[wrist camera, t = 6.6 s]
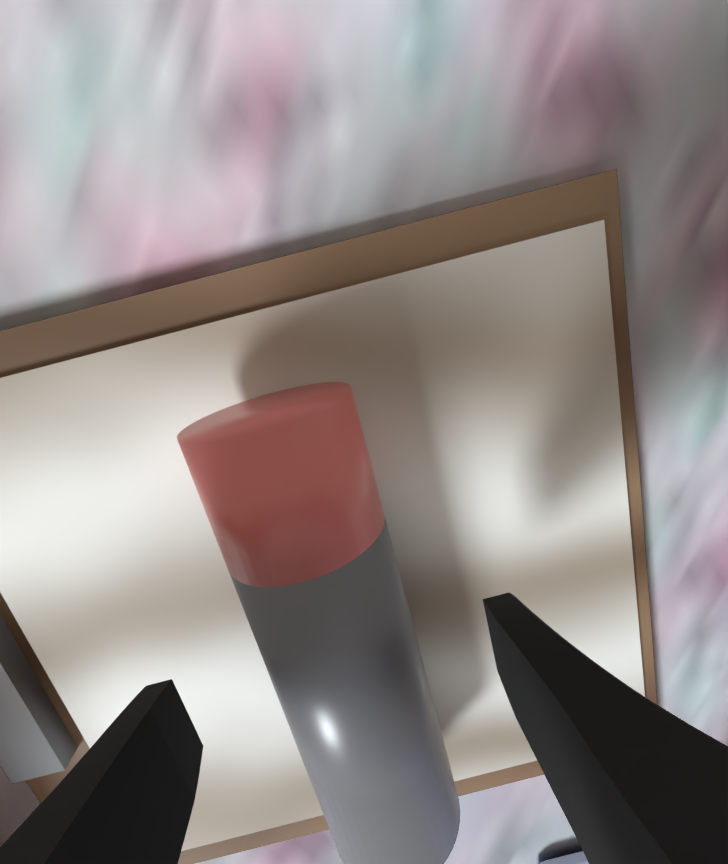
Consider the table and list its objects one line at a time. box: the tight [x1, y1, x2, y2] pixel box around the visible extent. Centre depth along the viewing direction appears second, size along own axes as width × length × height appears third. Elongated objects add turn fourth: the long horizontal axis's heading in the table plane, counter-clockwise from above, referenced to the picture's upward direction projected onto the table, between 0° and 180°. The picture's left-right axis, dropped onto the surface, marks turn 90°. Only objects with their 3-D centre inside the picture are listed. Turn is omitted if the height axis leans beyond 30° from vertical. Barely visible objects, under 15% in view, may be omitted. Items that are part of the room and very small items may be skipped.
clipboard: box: [0, 169, 657, 864], centre depth 13 cm, size 18×20×1 cm
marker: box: [177, 382, 460, 864], centre depth 11 cm, size 13×4×4 cm, turn 14°
